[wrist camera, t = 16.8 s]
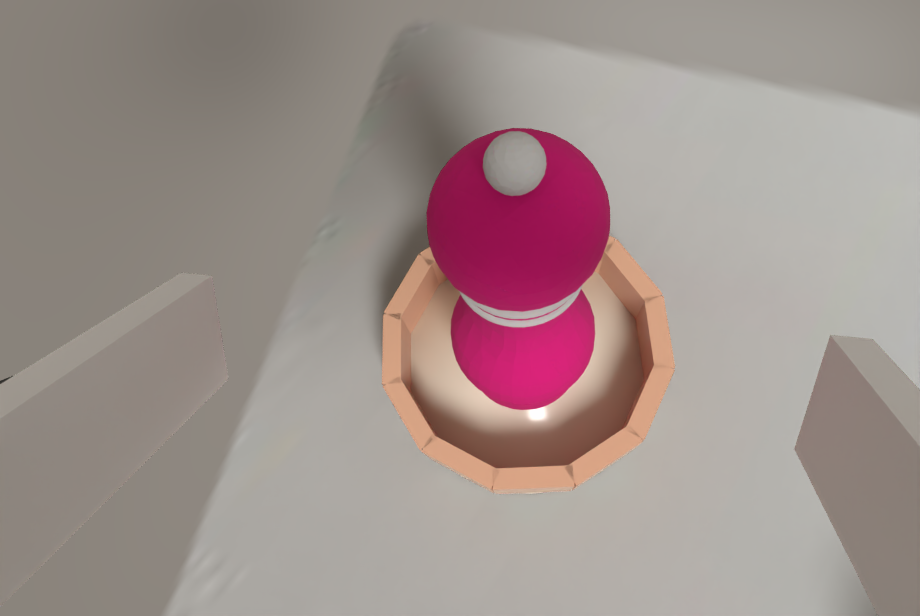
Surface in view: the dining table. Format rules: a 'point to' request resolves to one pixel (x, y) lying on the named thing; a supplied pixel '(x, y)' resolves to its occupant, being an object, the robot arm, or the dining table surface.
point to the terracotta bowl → (537, 430)
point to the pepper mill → (520, 261)
